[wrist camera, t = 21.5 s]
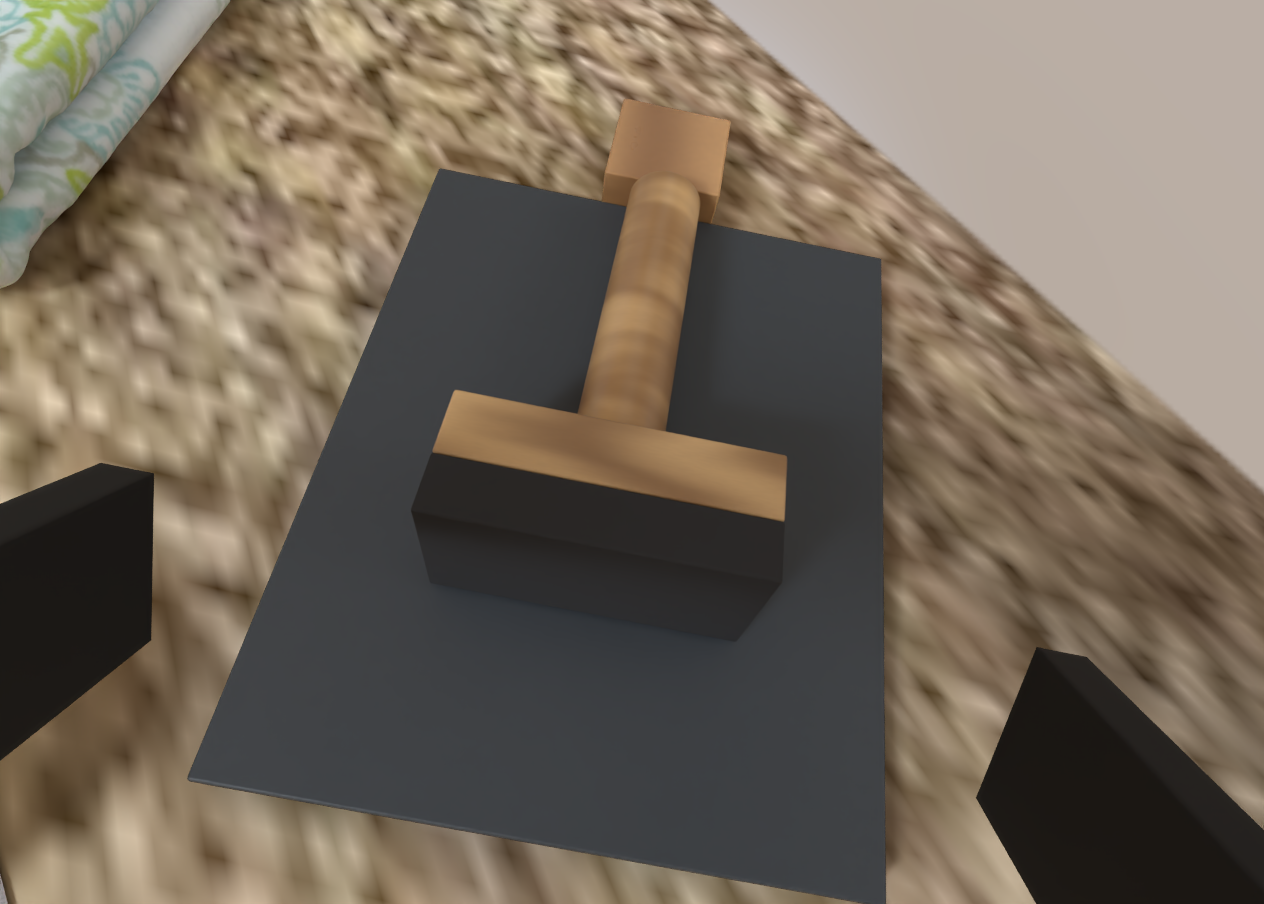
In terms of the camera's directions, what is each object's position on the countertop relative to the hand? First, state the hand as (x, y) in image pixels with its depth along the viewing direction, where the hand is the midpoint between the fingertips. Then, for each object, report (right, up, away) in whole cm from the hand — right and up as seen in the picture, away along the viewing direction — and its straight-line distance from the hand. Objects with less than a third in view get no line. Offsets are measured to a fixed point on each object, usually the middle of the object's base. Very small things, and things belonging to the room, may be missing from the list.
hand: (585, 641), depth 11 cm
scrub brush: (0, 0, +6) cm, 6 cm away
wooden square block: (+2, +13, +17) cm, 21 cm away
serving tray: (0, +2, +11) cm, 12 cm away
